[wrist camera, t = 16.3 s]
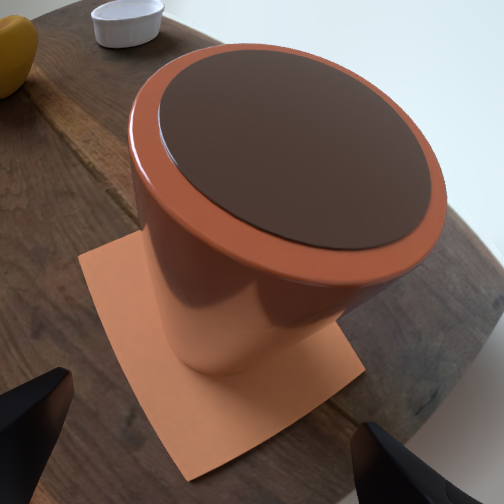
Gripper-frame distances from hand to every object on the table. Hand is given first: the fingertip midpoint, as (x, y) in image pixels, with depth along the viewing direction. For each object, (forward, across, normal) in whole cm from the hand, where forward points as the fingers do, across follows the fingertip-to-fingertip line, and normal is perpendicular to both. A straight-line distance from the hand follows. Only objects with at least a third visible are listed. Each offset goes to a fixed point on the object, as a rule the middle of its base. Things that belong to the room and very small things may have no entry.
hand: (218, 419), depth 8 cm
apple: (+22, +27, -11) cm, 36 cm away
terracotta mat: (+9, 0, +2) cm, 9 cm away
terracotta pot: (+9, 0, +2) cm, 9 cm away
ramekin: (+30, +18, -20) cm, 41 cm away
